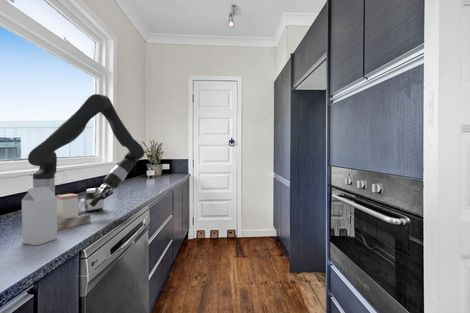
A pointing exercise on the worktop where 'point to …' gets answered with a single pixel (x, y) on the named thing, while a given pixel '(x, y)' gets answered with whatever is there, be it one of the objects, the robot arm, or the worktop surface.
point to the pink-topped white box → (67, 206)
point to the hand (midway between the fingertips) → (91, 205)
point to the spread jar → (88, 199)
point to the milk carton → (39, 216)
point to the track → (73, 221)
